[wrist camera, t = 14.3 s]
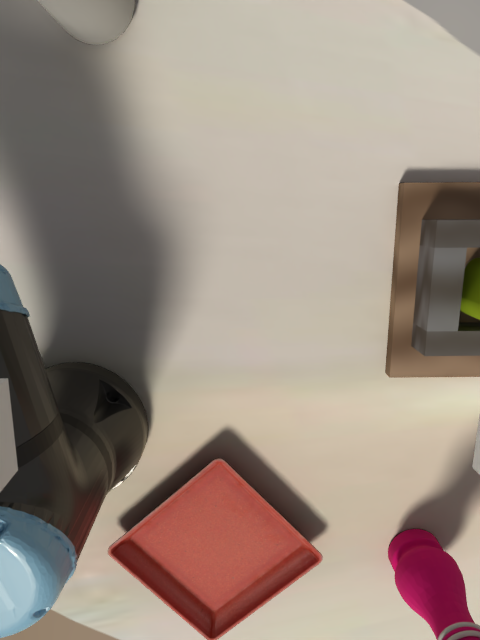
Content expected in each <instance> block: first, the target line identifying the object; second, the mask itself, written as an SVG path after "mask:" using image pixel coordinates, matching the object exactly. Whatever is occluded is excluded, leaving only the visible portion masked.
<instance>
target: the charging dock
mask: <svg viewBox="0 0 480 640" xmlns="http://www.w3.org/2000/svg"><path fill="white" fill-rule="evenodd" d="M477 257H480V182H447V183H400V184H399V191H398V205H397V219H396V232H395V246H394V260H393V274H392V287H391V301H390V315H389V329H388V343H387V356H386V370H385V373H386V374H387V375H388V376H389V377H480V320H479V319H476V318H474V317H472V316H469V315H467V314H465V313H463V312H460V307H461V298H462V289H463V280H464V271H465V266H466V265H467V263H468V262H469V261H470V260H471V259H473V258H477Z"/></svg>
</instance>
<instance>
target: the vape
mask: <svg viewBox="0 0 480 640" xmlns="http://www.w3.org/2000/svg"><path fill="white" fill-rule="evenodd" d="M460 312H463V313H465V314H467V315H469V316H472V317H474V318H476V319H479V320H480V257H477V258H473V259H471V260H470V261H469V262H468V263H467V265H466V266H465V271H464V280H463V289H462V298H461V307H460Z"/></svg>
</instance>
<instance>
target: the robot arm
mask: <svg viewBox="0 0 480 640" xmlns="http://www.w3.org/2000/svg"><path fill="white" fill-rule="evenodd" d="M28 317H29V312H28V310H27V309H26V308H24V307H23V305H22V302H21V300H20V297H19V295H18V293H17V290H16V288H15V285H14V282H13V280H12V277H11V275H10V274H9V272H8V271H7V270H6V269H5V268H4V267H3V266H2V265H0V638H2V637H6V636H10V635H13V634H15V633H18V632H20V631H22V630H24V629H26V628H28V627H29V626H31V625H33V624H34V623H36V622H37V621H38V620H40V619H41V618H42V617H43V616H44V615H45V614H46V613H47V612H48V611H49V610H50V609H51V607H52V606H53V604H54V603H55V602H56V600H57V598H58V596H59V594H60V592H61V591H62V589H63V587H64V585H65V583H66V582H67V581H68V580H69V578H70V577H71V576H72V575H73V573H74V571H75V569H76V565H77V564H76V563H77V560H78V558H79V556H80V553H81V551H82V549H83V547H84V544H85V542H86V540H87V537H88V535H89V533H90V530H91V528H92V526H93V524H94V521H95V519H96V517H97V514H98V512H99V510H100V507H101V505H102V503H103V501H104V499H105V496H106V495H107V493H108V492H109V491H110V490H112V489H114V488H115V487H117V486H118V485H120V484H121V483H122V482H123V481H125V480H126V479H127V478H128V477H129V475H130V474H131V473H132V472H133V470H134V469H135V468H136V466H137V464H138V462H139V460H140V458H141V456H142V453H143V450H144V448H145V445H146V441H147V435H148V423H147V417H146V413H145V410H144V407H143V405H142V403H141V401H140V399H139V397H138V396H137V394H136V393H135V391H134V390H133V389H132V388H131V387H130V386H129V385H128V384H127V383H126V382H125V381H124V380H123V379H122V378H120V377H119V376H117V375H116V374H114V373H112V372H111V371H109V370H107V369H104V368H102V367H99V366H96V365H92V364H87V363H63V364H58V365H55V366H52V367H49V368H47V369H45V367H44V364H43V361H42V358H41V355H40V352H39V349H38V347H37V344H36V341H35V338H34V335H33V332H32V329H31V326H30V323H29V320H28ZM472 468H473V469H474V470H475V471H476V472H477V473H478V474H479V475H480V416H479V423H478V430H477V437H476V444H475V451H474V458H473V465H472Z"/></svg>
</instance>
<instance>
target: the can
mask: <svg viewBox="0 0 480 640" xmlns="http://www.w3.org/2000/svg"><path fill="white" fill-rule="evenodd" d="M37 1H38V2H39V3H40V4H41V5H42V6H43V7H44V8H45V9H46V11H47V12H48V13H49V14H50V15H51V16H52V17H53V18H54V19H55V20H56V21H57V22H58V23H59V24H60V26H61V27H62V28H63V29H64V30H65V31H66V32H67V33H69V34H70V35H71V36H73V37H74V38H75V39H77V40H78V41H81V42H84V43H87V44H90V45H100V44H106V43H108V42H111V41H114V40H115V39H117V38H118V37H119V36H120V35H121V34H122V33H124V32H125V30H126V29H127V27H128V25H129V23H130V22H131V20H132V16H133V12H134V8H135V0H37Z"/></svg>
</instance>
